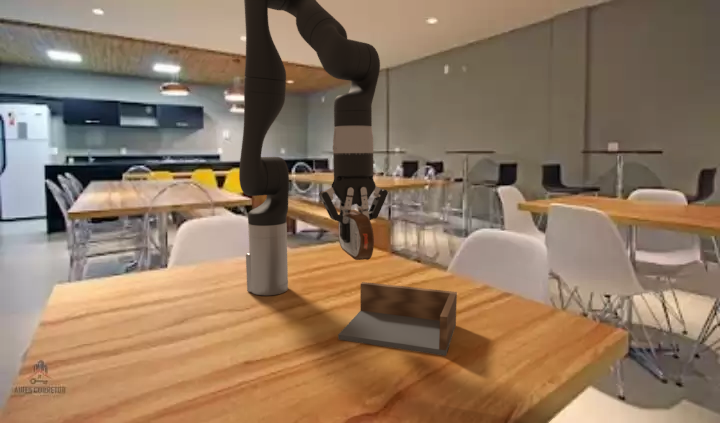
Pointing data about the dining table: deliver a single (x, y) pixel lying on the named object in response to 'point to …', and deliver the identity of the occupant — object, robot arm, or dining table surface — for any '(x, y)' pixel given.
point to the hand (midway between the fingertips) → (354, 241)
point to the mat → (395, 332)
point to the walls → (412, 305)
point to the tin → (358, 237)
